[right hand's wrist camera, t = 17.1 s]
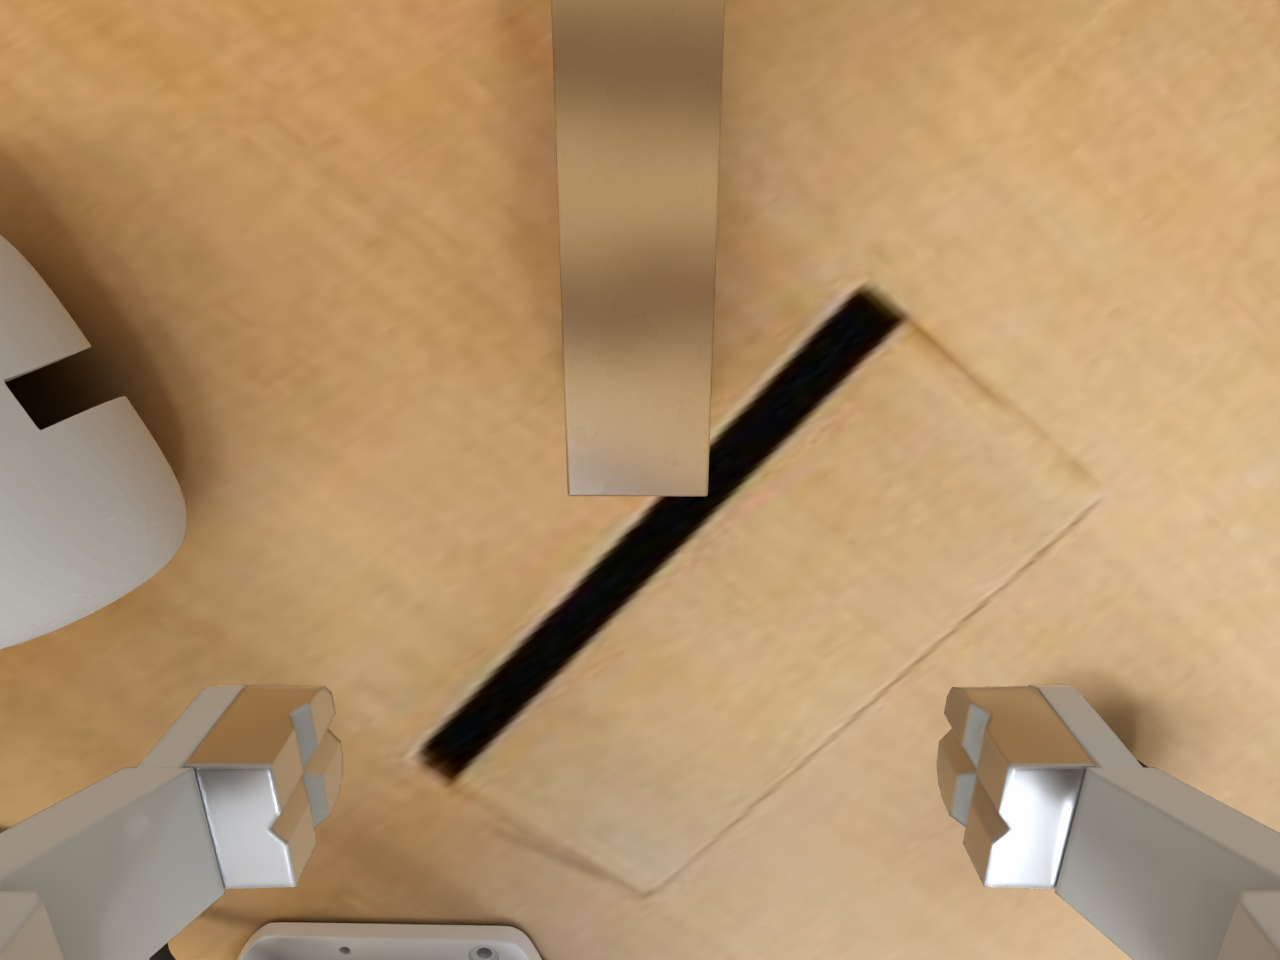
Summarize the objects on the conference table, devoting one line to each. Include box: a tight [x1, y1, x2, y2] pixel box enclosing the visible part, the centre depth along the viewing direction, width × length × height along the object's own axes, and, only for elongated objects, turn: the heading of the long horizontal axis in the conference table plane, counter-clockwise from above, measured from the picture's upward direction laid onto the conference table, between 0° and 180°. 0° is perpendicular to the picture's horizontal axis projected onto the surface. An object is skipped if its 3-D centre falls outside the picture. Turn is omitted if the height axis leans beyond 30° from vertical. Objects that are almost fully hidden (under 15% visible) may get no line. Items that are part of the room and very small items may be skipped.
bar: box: [551, 0, 725, 496], centre depth 27 cm, size 24×5×9 cm, turn 0°
